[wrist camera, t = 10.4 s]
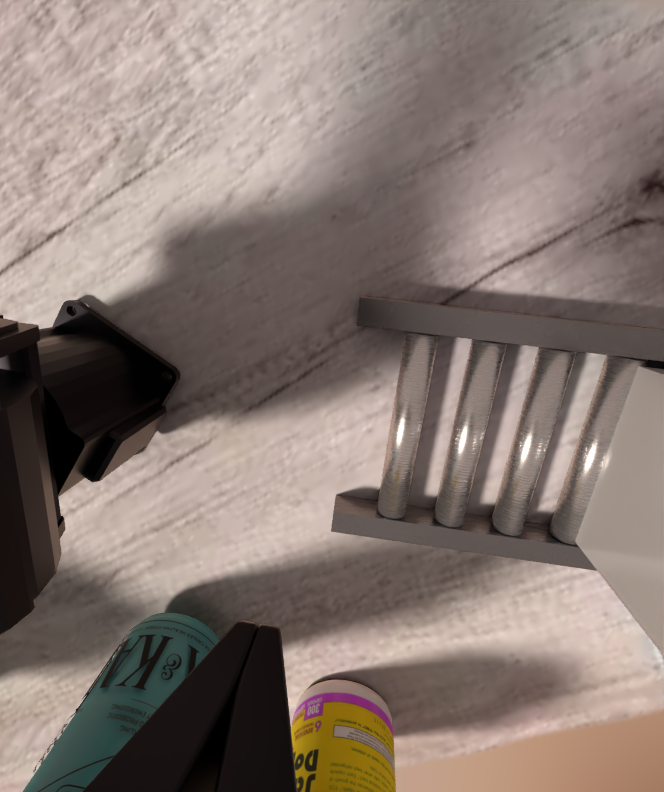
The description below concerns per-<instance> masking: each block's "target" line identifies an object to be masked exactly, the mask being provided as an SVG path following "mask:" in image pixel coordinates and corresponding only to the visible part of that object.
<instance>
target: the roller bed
mask: <svg viewBox="0 0 664 792" xmlns="http://www.w3.org/2000/svg"><path fill="white" fill-rule="evenodd" d="M357 326H366V327H374V328H383V329H392V330H400V331H406V334H405V340H404V346H403V352H402V358H401V365H400V371H399V377H398V383H397V389H396V395H395V401H394V407H393V413H392V419H391V425H390V432H389V438H388V444H387V450H386V456H385V462H384V468H383V474H382V480H381V486H380V493H379V499H378V501H375V500H368V499H361V498H354V497H347V496H340V495H336V499H335V506H334V513H333V521H332V529H331V531H332V532H339V533H345V534H352V535H359V536H366V537H373V538H379V539H386V540H393V541H400V542H406V543H413V544H420V545H427V546H433V547H440V548H447V549H454V550H461V551H467V552H474V553H481V554H488V555H494V556H501V557H508V558H515V559H522V560H528V561H535V562H542V563H549V564H555V565H562V566H569V567H576V568H583V569H589V570H596V571H597V569H596V568H595V567H594V566H593V564H592V563H591V562H590V560H589V559H588V558H587V556H586V555H585V554H584V553H583V551H582V550H581V549H580V547H579V546H578V545H577V544H576V542H575V540H576V538H577V535H578V532H579V529H580V527H581V524H582V521H583V518H584V516H585V513H586V510H587V507H588V505H589V502H590V499H591V496H592V494H593V491H594V488H595V485H596V483H597V480H598V477H599V474H600V471H601V469H602V466H603V463H604V460H605V458H606V455H607V452H608V449H609V447H610V444H611V441H612V438H613V436H614V433H615V430H616V427H617V425H618V422H619V419H620V416H621V414H622V411H623V408H624V405H625V402H626V400H627V397H628V394H629V391H630V389H631V386H632V383H633V380H634V378H635V375H636V372H637V369H638V367H639V366H641V367H647V364H648V360H656V361H664V330H663V329H654V328H645V327H636V326H627V325H618V324H609V323H601V322H592V321H583V320H574V319H565V318H556V317H547V316H539V315H530V314H521V313H512V312H503V311H494V310H485V309H477V308H468V307H459V306H450V305H441V304H432V303H423V302H415V301H406V300H397V299H388V298H379V297H370V296H360V303H359V311H358V319H357ZM439 335H443V336H451V337H460V338H468V339H472V341H471V346H470V351H469V355H468V360H467V364H466V369H465V373H464V378H463V382H462V387H461V392H460V396H459V401H458V405H457V410H456V414H455V419H454V424H453V428H452V433H451V437H450V442H449V446H448V451H447V456H446V460H445V465H444V469H443V474H442V478H441V483H440V487H439V492H438V497H437V501H436V506H435V509H431V508H424V507H417V506H410V505H407V502H408V497H409V492H410V486H411V481H412V476H413V471H414V465H415V460H416V455H417V450H418V445H419V439H420V434H421V429H422V424H423V419H424V413H425V408H426V403H427V398H428V393H429V387H430V382H431V377H432V372H433V366H434V361H435V356H436V351H437V346H438V340H439ZM507 343H511V344H519V345H528V346H536V347H539V348H538V352H537V356H536V359H535V363H534V367H533V370H532V374H531V378H530V381H529V385H528V388H527V392H526V396H525V399H524V403H523V407H522V410H521V414H520V417H519V421H518V425H517V428H516V432H515V436H514V439H513V443H512V446H511V450H510V454H509V457H508V461H507V465H506V468H505V472H504V476H503V479H502V483H501V486H500V490H499V494H498V497H497V501H496V505H495V508H494V512H493V515H492V517H487V516H480V515H473V514H466V513H465V512H466V508H467V504H468V500H469V496H470V492H471V488H472V484H473V480H474V476H475V472H476V468H477V464H478V460H479V456H480V452H481V448H482V444H483V440H484V436H485V432H486V428H487V424H488V420H489V416H490V412H491V408H492V404H493V400H494V396H495V392H496V388H497V384H498V380H499V376H500V372H501V368H502V364H503V360H504V356H505V352H506V348H507ZM576 351H579V352H588V353H596V354H605V355H607V356H606V359H605V362H604V365H603V368H602V371H601V374H600V377H599V380H598V383H597V386H596V389H595V392H594V395H593V398H592V401H591V404H590V407H589V410H588V413H587V416H586V419H585V422H584V425H583V428H582V431H581V434H580V437H579V440H578V443H577V446H576V449H575V452H574V455H573V458H572V461H571V464H570V467H569V470H568V473H567V476H566V479H565V482H564V485H563V488H562V491H561V494H560V497H559V500H558V503H557V506H556V509H555V512H554V515H553V518H552V521H551V524H550V525H543V524H536V523H529V522H525V520H526V517H527V513H528V510H529V507H530V504H531V500H532V497H533V494H534V491H535V487H536V484H537V481H538V478H539V474H540V471H541V468H542V465H543V461H544V458H545V455H546V452H547V448H548V445H549V442H550V439H551V435H552V432H553V429H554V426H555V422H556V419H557V416H558V413H559V409H560V406H561V403H562V400H563V397H564V393H565V390H566V387H567V384H568V380H569V377H570V374H571V371H572V367H573V364H574V361H575V358H576V354H577V352H576ZM646 359H647V360H646Z"/></svg>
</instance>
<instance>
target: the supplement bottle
mask: <svg viewBox="0 0 664 792" xmlns="http://www.w3.org/2000/svg"><path fill="white" fill-rule="evenodd" d="M291 735H292V744H293V754H294V764H295V773H296V783H297V792H396V787H395V786H396V784H395V762H394V740H393V725H392V717H391V714H390V711H389V708H388V706H387V705H386V703H385V702H384V700H383V699H382V698H381V697H380V696H379V695H378V694H377V693H376V692H374V691H373V690H371V689H370V688H368V687H366V686H364V685H362V684H359V683H356V682H352V681H347V680H327V681H323V682H320V683H317V684H315V685H313V686H311V687H310V688H309V689H307V690H306V691H305V692H304V693H303V694H302V695H301V697H300V698H299V700H298V702H297V705H296V708H295V712H294V717H293V722H292V727H291Z"/></svg>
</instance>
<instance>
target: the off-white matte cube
mask: <svg viewBox="0 0 664 792" xmlns="http://www.w3.org/2000/svg"><path fill="white" fill-rule="evenodd" d="M575 542H576V544H577V545H578V546H579V547H580V549H581V550H582V551H583V553H584V554H585V555H586V556H587V558H588V559H589V560H590V562H591V563H592V564H593V566H594V567H595V568H596V569H597V571H598V572H599V573H600V575H601V576H602V577H603V578H604V580H605V581H606V582H607V584H608V585H609V586H610V587H611V589H612V590H613V591H614V593H615V594H616V595H617V597H618V598H619V599H620V600H621V602H622V603H623V604H624V606H625V607H626V608H627V609H628V611H629V612H630V613H631V615H632V616H633V617H634V618H635V620H636V621H637V622H638V624H639V625H640V626H641V628H642V629H643V630H644V631H645V633H646V634H647V635H648V637H649V638H650V639H651V640H652V642H653V643H654V644H655V646H656V647H657V648H658V649H659V651H660V652H661V653H662V655H663V656H664V369H658V368H650V367H641V366H639V367H638V369H637V372H636V375H635V378H634V380H633V383H632V386H631V389H630V391H629V394H628V397H627V400H626V402H625V405H624V408H623V411H622V414H621V416H620V419H619V422H618V425H617V427H616V430H615V433H614V436H613V438H612V441H611V444H610V447H609V449H608V452H607V455H606V458H605V460H604V463H603V466H602V469H601V471H600V474H599V477H598V480H597V483H596V485H595V488H594V491H593V494H592V496H591V499H590V502H589V505H588V507H587V510H586V513H585V516H584V518H583V521H582V524H581V527H580V529H579V532H578V535H577V538H576V540H575Z"/></svg>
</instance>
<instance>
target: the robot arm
mask: <svg viewBox="0 0 664 792" xmlns="http://www.w3.org/2000/svg"><path fill="white" fill-rule="evenodd" d="M73 307H74V308H75V309H76V315H75V314H74V312H73V310H72V309H73ZM166 372H169V373H170V374H171V376H172V378H171V379H168V378H167V376H166ZM179 379H180V373H179V371H178V370H177V369H176V368H175V367H174V366H173V365H171V364H170V363H168V362H167V361H165V360H164V359H163V358H161V357H160V356H158V355H157V354H155V353H154V352H153V351H151V350H150V349H148V348H147V347H145V346H144V345H142V344H141V343H140V342H138V341H137V340H135V339H134V338H132V337H131V336H130V335H128V334H127V333H125V332H124V331H122V330H121V329H119V328H118V327H117V326H115V325H114V324H112V323H111V322H109V321H108V320H106V319H105V318H104V317H102V316H101V315H99V314H98V313H96V312H95V311H94V310H92V309H91V308H89V307H88V306H86V305H85V304H83V303H82V302H80V301H78V300H69V301H66V302H64V303H63V305H62V307H61V309H60V311H59V314H58V316H57V318H56V320H55V322H54V324H53V327H51V328H45V329H39V327H38V325H33V324H25V323H18V322H17V321H12V320H8V319H3V315H0V635H2V634H3V633H5V632H6V631H8V630H9V629H11V628H12V627H13V626H14V625H15V624H17V623H18V622H19V621H20V620H22V619H23V618H24V617H25V616H27V615H28V614H29V613H30V612H31V611H32V610H33V609H34V608H35V604H36V602H35V598H36V597H37V596H38V595H39V594H40V593H41V591H42V590H43V589H44V587H45V586H46V585H47V583H48V582H49V581H50V579H51V578H52V577H53V575H54V574H55V573H56V570H57V567H58V564H59V560H60V557H61V546H60V538H61V536H62V534H63V533H64V531H65V522H64V517H63V516H61V514H60V506H59V499H58V497H59V496H60V495H61V494H63V493H64V492H66V491H67V490H68V489H70V488H71V487H73V486H74V485H75V484H77V483H78V482H80V481H81V480H82V479H84V478H87V479H88V480H90V481H91V482H97V481H100V480H102V479H103V478H104V477H106V476H107V475H108V474H110V473H111V472H112V471H114V470H115V469H116V468H117V467H119V466H120V465H121V464H123V463H124V462H125V461H127V460H129V459H130V458H131V457H132V456H133V455H134V454H136V453H137V452H138V451H140V450H141V449H142V448H144V447H145V446H146V445H147V444H148V442H149V441H150V439H151V437H152V436H153V434H154V432H155V431H156V429H157V428H158V426H159V424H160V423H161V421H162V419H163V418H164V416H165V415H166V413H167V412H166V407H165V406H164V404H165V402H166V401H167V399H168V398H169V396H170V394H171V393H172V391H173V389H174V388H175V386H176V384H177V383H178V381H179ZM82 792H297V783H296V773H295V764H294V754H293V744H292V735H291V725H290V716H289V706H288V697H287V687H286V678H285V668H284V659H283V649H282V639H281V631H280V628H279V627H278V626H274V625H268V624H261V625H260V626H259V625H258V624H257V623H256V622H249V621H243V620H240V621H238V622H236V623H235V624H234V625H233V626H232V627H231V629H230V630H229V631H228V632H227V633H226V634H225V635H224V636H223V637H222V638H221V640H220V641H219V642H218V643H217V644H216V645H215V646H214V647H213V648H212V649H211V650H210V652H209V653H208V654H207V655H206V656H205V657H204V658H203V659H202V660H201V661H200V663H199V664H198V665H197V666H196V667H195V668H194V669H193V670H192V671H191V672H190V674H189V675H188V676H187V677H186V678H185V679H184V680H183V681H182V682H181V683H180V685H179V686H178V687H177V688H176V689H175V690H174V691H173V692H172V693H171V694H170V695H169V697H168V698H167V699H166V700H165V701H164V702H163V703H162V704H161V705H160V706H159V708H158V709H157V710H156V711H155V712H154V713H153V714H152V715H151V716H150V717H149V719H148V720H147V721H146V722H145V723H144V724H143V725H142V726H141V727H140V728H139V730H138V731H137V732H136V733H135V734H134V735H133V736H132V737H131V738H130V739H129V740H128V742H127V743H126V744H125V745H124V746H123V747H122V748H121V749H120V750H119V751H118V753H117V754H116V755H115V756H114V757H113V758H112V759H111V760H110V761H109V762H108V764H107V765H106V766H105V767H104V768H103V769H102V770H101V771H100V772H99V773H98V775H97V776H96V777H95V778H94V779H93V780H92V781H91V782H90V783H89V784H88V786H87V787H86V788H85V789H84V790H83V791H82Z"/></svg>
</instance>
